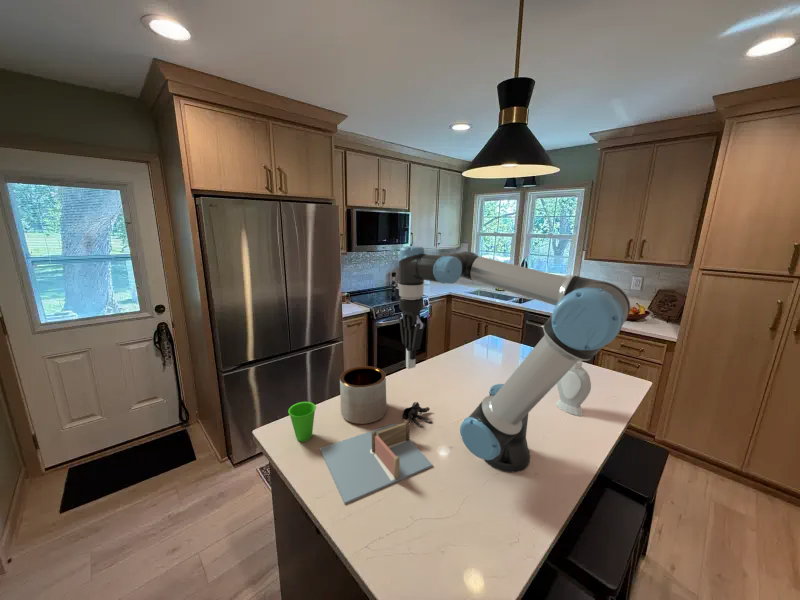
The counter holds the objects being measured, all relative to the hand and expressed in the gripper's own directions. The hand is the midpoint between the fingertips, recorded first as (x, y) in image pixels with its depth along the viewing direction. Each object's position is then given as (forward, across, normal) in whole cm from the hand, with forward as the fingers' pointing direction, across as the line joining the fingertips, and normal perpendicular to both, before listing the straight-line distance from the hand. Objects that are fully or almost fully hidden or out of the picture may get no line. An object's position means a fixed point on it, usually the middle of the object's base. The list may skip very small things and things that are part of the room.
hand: (410, 367), depth 105 cm
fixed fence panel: (+26, -1, +8) cm, 28 cm away
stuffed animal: (+27, +10, -9) cm, 30 cm away
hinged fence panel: (+25, -9, +14) cm, 30 cm away
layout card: (+26, -3, +15) cm, 31 cm away
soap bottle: (+27, -16, -65) cm, 72 cm away
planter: (+27, +22, +8) cm, 36 cm away
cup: (+27, +18, +32) cm, 45 cm away
